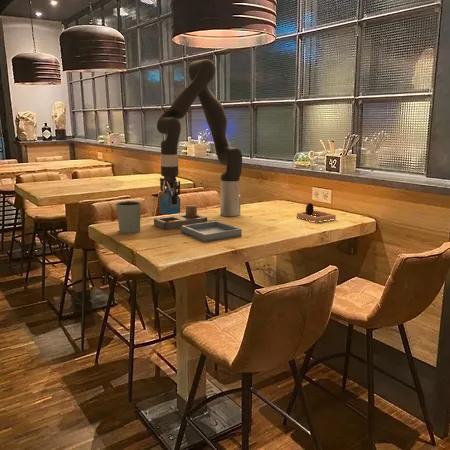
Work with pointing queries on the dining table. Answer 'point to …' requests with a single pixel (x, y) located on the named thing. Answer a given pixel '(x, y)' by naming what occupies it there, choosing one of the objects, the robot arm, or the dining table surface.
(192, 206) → the walnut peg
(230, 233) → the tray
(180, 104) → the robot arm
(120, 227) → the grey cup
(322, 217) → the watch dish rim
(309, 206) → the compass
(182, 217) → the slot holder
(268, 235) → the dining table surface
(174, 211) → the perfume bottle
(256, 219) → the dining table surface
